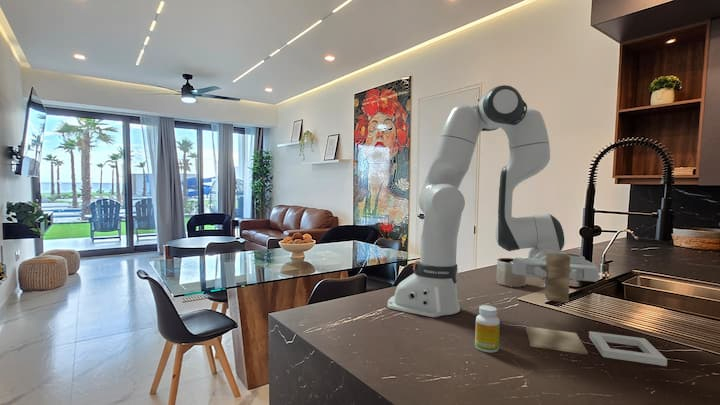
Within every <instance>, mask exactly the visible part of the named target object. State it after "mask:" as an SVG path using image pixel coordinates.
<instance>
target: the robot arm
mask: <svg viewBox="0 0 720 405" xmlns="http://www.w3.org/2000/svg"><path fill="white" fill-rule="evenodd" d="M500 128H501V129H502V130H503V131H504V133H505V135H506V137H507V139H508V148H509V158H508V160H507V161H508V162H507V164H506V165H505V166H503V167H502V169H501V171H500V176H499V177H500V178H499V187H498V203H497V204H498V209H497V210H498V211H497V213H498V215H497V223H496V226H495V240H496V243H497V245H498V246H499V247H500V248H502V249H503V250H505V251H508V252H512V251H519V250H521V249H522V250H523V249H529V251H528V255H527V256H528V258H527V257H525V258H524V257H515V258H513V261H511V262H510V265H511V266H512V273H513V274H516V275H525V276H526V277H537V278H539V279H540V280H543V281H545V282H546V278H548V275H547V274H548V271H547V270H546V256H547V253H554V254H567V255H568V256H569V257H570V276H569V281H584V282H598V281H599V274H600V273H599V267H598V266H597V265H596V264H595V263H593V262H591V261H589V260H587V259H586V258H585V256H583V255H578V254H572V253H567V252H563V251H562V250H563V248H564V246H565V234H564V229H563V226H562V224H561V221H559V220H558V219H557V218H556V217H555V216H554V215H552V214H551V213H549V214H538V215H536V214H535V215H529V216H521V217H520V216H519V217H513V215H512V211H513V209H512V208H513V193H514V190H515V189H516V187H517V186H518V185H519V184H521V183H522V182H524V181H526V180H528V179H530V178H532V177H534V176H535V175H537V174H539V173H540V172H542V171H544V169H545V168H546V167H547V166H548V164H549V162H550V160H551V148H550V139H549V135H548V129H547V126H546V124H545V120H544V118H543V115H542V114H541V112H540V111H538V110H536V109H533V108H528V105H527V103H526V102H525V100H524V99H523V97H522V95H521V94H520V92H519V91H518V90H517V89H516V88H514V87H513V86H511V85H505V84H504V85H498V86H495V87H493V88H492V89H490V90H489V91H488V92H487V93H486V94H484V95H483V96H482V97H481V98H480V99H479V100H478V102H477V103H476V104H475V105H474V106H473V105H472V106H471V105H466V104H463V105H457V106H455V107H453V108H452V109H451V110H450V112H449V114H448V116H447V119H446V120H445V123H444V125H443V127H442V130H441V132H440V136H439V139H438V144H437V146H436V150H435V153H434V156H433V160H432V163H431V165H430V167H429V169H428V172H427V175H426V178H425V180H424V181H423V182H424V183H423V185H422V188H421V190H420V193H419V196H418V205H419V209H420V210H421V212H422V213H424V216H423V217H424V218H423V224H422V232H421V236H420V248H419V249H420V251H419V252H420V254H419V255H420V256H419V260H418V259H417V260H416V261H414V263H413V267H412V269H413V270H412V271H413V273H412V274H410V275H409V276H407V277H406V278H405V279H403V280H402V281H400V282H399V283H398V284H397V287H396V289H395V291H394V292H395V293H394V295H393V296H392V295H391V297H389V299H388V300H387V308H389V309H391V310H395V311H400V312H405V313H410V314H415V315H421V316H425V317H430V318H438V317H441V316H450V315H454V314H457V313H459V312H460V311H461V307H460V304H459V299H458V292H457V291H458V290H457V282H458V273H459V272H458V270H459V268H458V264H457V250H458V249H457V246H458V244H457V242H458V235H459V229H460V225H461V220H462V216H463V215H462V214H463V211H464V209H465V206H466V205H465V204H466V202H465V201H466V200H465V197H464V194H463V193H462V192H461V190H459V188H460V186H461V185H462V182H463V180H464V177H465V176H466V174H467V173H468V171H469V168H470V165H471V161H472V159H473V156H474V152H475V148H476V145H477V142H478V138H479V135H480V134H481V132H491V131H496V130H498V129H500Z"/></svg>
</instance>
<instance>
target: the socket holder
mask: <svg viewBox="0 0 720 405" xmlns="http://www.w3.org/2000/svg"><path fill="white" fill-rule="evenodd" d="M588 332H589V334H588V338H589V339H590V341H591V342H592V343H593V345H594V346H595V348H596V349H597V351H598V352H599V353H600V355H601V356H602V357H603V358H608V359H614V360H621V361H628V362H634V363H635V362H636V363H641V364H647V365H648V364H650V365H656V366H661V367H667V366H668V359H667V358H666V357H665V356H664V355H663V354H662V353H661V352H660V351H659V349H657V348H655V347H654V346H653V345H652V343H650V342H649V340H648V339H646V338H645V337H637V336H629V335H621V334H615V333H614V334H613V333H606V332H598V331H592V330H591V331H590V330H589V331H588ZM608 343H609V344H618V345H619V344H620V345H625V346H632V347H633V346H634V347H638V348H639V349H640V350H641V351H642V352H640V351H639V352H638V351H633V350H626V349H619V348H618V349H617V348H611V347H610V346H609V344H608Z"/></svg>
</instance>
